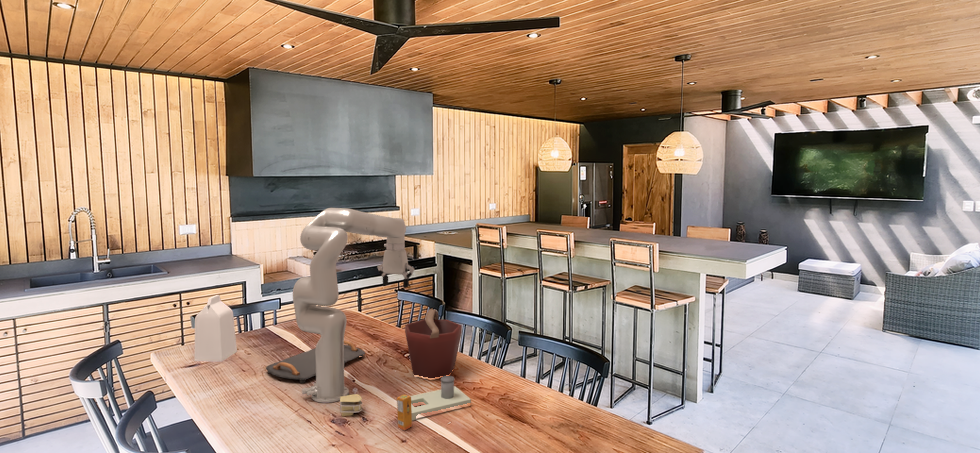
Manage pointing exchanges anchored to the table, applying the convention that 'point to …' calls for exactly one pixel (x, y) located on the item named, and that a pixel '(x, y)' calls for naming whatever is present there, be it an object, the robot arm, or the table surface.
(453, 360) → the bucket
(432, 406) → the caddy
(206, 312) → the milk
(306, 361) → the serving board
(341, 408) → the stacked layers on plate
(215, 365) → the table surface
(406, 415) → the supplement box
